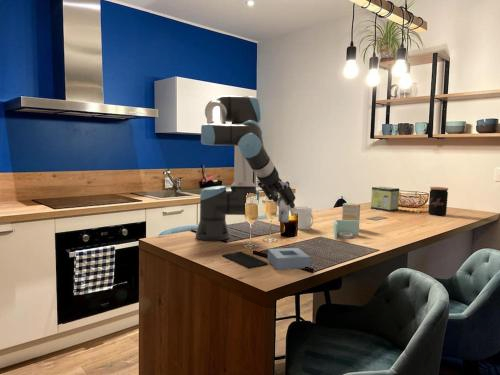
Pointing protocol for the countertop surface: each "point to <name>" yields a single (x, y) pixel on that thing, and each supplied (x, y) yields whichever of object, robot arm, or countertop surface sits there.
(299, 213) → the mug
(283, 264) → the block
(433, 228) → the countertop surface
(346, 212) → the supplement box
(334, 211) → the countertop surface
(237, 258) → the cell phone
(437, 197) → the coffee jar
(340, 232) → the right angle wall
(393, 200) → the protein box
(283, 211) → the shaft
